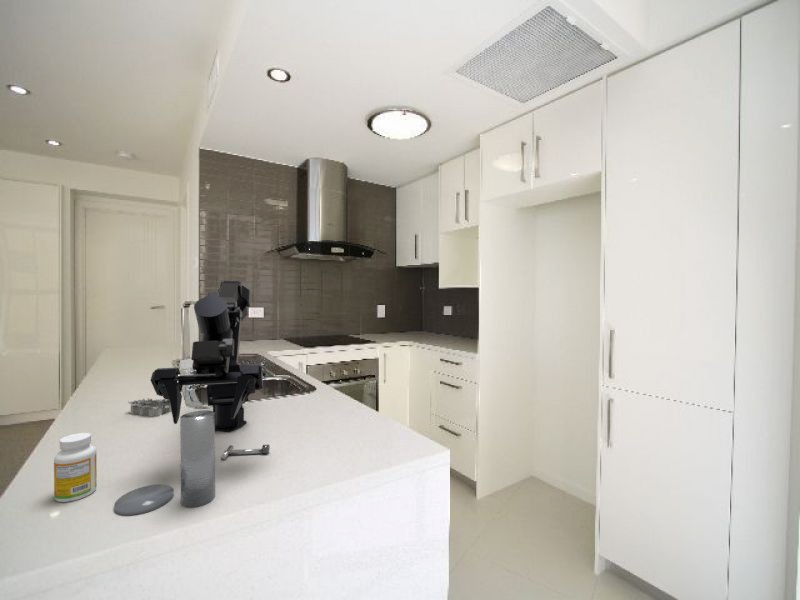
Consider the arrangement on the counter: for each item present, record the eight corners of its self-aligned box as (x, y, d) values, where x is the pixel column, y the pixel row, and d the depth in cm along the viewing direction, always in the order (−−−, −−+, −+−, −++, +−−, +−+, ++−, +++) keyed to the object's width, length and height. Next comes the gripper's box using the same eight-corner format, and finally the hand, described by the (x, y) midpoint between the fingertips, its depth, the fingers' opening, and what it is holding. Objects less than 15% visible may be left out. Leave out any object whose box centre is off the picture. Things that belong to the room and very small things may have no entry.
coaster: (100, 511, 57) (100, 507, 57) (146, 485, 65) (146, 481, 65) (143, 518, 56) (143, 515, 56) (184, 491, 64) (184, 487, 64)
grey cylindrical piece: (173, 505, 59) (172, 419, 59) (196, 489, 64) (196, 409, 64) (200, 509, 58) (199, 421, 58) (221, 492, 63) (221, 411, 63)
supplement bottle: (71, 486, 65) (71, 431, 65) (104, 485, 65) (104, 430, 65) (45, 503, 59) (44, 444, 59) (80, 502, 60) (80, 443, 60)
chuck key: (220, 460, 75) (220, 451, 75) (228, 450, 80) (228, 441, 80) (265, 458, 76) (266, 449, 76) (271, 448, 81) (271, 440, 81)
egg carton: (177, 411, 106) (177, 397, 106) (152, 419, 99) (152, 404, 99) (152, 406, 110) (152, 392, 110) (125, 414, 103) (125, 399, 103)
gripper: (153, 325, 68) (130, 401, 57) (262, 323, 73) (258, 393, 63) (166, 360, 75) (148, 433, 65) (264, 356, 81) (260, 423, 71)
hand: (204, 420), depth 66 cm, fingers open, 9 cm apart
